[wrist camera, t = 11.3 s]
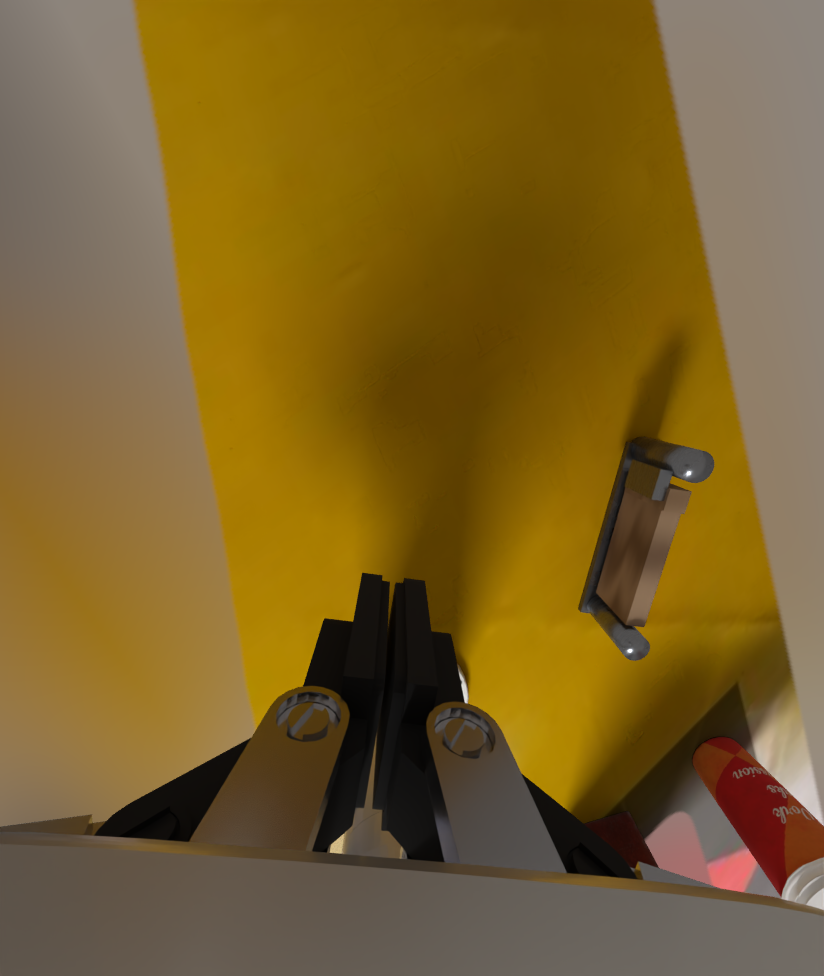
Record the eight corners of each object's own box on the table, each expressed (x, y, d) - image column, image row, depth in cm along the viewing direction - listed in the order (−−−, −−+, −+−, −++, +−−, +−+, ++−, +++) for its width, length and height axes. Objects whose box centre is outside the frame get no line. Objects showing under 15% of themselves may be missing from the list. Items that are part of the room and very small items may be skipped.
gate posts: (606, 613, 42) (649, 662, 35) (573, 608, 42) (609, 657, 35) (660, 439, 38) (722, 454, 30) (623, 433, 37) (677, 446, 30)
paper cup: (764, 750, 47) (910, 899, 34) (713, 793, 49) (834, 953, 35) (718, 716, 46) (852, 858, 32) (667, 762, 47) (775, 916, 34)
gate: (612, 594, 40) (646, 629, 35) (595, 592, 40) (627, 627, 35) (647, 474, 37) (691, 491, 32) (629, 471, 37) (670, 488, 32)
